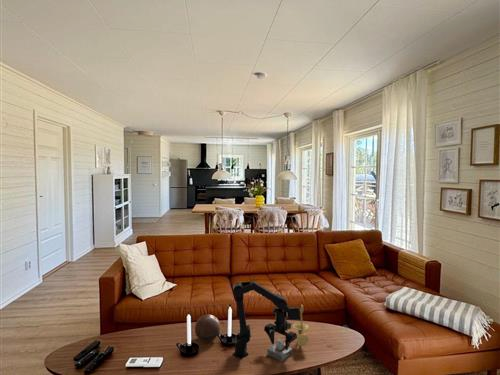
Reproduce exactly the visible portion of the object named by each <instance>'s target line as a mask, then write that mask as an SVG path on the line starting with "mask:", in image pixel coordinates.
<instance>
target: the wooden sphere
mask: <svg viewBox="0 0 500 375" xmlns="http://www.w3.org/2000/svg"><path fill="white" fill-rule="evenodd" d="M220 330H221V324H220V321H219V319H218V318H217V317H216V316H214V315H212V314H203V315H202V316H200V317H199V318H198V319H197V320H196V322H195V325H194V333H195V336H196V337H197V339H198V340H200V341H202V342H203V343H204V342H206V343H208V342H212V341H215V339H216V338H217V337H218V336H219V334H220V332H221V331H220Z"/></svg>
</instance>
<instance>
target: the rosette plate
mask: <svg viewBox="0 0 500 375" xmlns="http://www.w3.org/2000/svg"><path fill="white" fill-rule="evenodd" d="M266 353H267V354H266V355H267V356H269V357H271V358H274V359H276V360H278V361H280V362H284V361H285V360H286V359H287V358H289V357H291V355H292V354H293V348H292V347H289V348H288V350H287V351H286V348H285V342H284V350H283V351H282V352H279V351H277V350H276V343H274V344H272V345H271V346H269V347H268V348H267V350H266Z"/></svg>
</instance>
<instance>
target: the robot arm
mask: <svg viewBox="0 0 500 375" xmlns="http://www.w3.org/2000/svg"><path fill="white" fill-rule="evenodd" d="M251 291H255V292H256V293H257V294H259V295H260V296H262V297H264V298H266V299H268V300H269V301H270V302H271V303H272V305H274V307H273V308H272V309H271V311H272V313H275V320H274V321H273V323H271V322H270V323H268V324H265V325H264V327H263V331H264V332H265V334H267V336H268V337H269V338H268V339H269V340H270V343H271V345H274V344H275V334H276V333H277V334H279V335H282V336H284V337H285V338H284V343H285V348H286V351H287V350H288V348H290V344H291V343H292V342H294V341H295V340H297V337H298V333H296V332H294V331H289V330H291V327H292V325H293V324H292V323H291V322H289V321H299V320H301V314H300V307H299V306H295V307H293V306H289V304H288V303H287V300H286V298H285V296H283V295H281V294H279V293H275V292H273V291H271V290H269V288H266V287H264V286H262V285H261V284H260V283H258V282H256V281H255V280H251V281H243V282H239V281H238V282H235V283H234V284H233V286H232V293H233V296H234V298H235V301H236V306H237V314H238V321H239V332H238V333H237V334H236V335H235V344H234V352H233V353H232V355H233V356H234V357H235V358H237V359H241V360H242V359H243V358H245V357H246V356H248V355H249V352H247V350H248V348H247V346H248V343H249V342H250V340H251V337H252V334H251V328H250V327H251V326H250V324H248V323H247V320H246V312H245V304H244V294H247V293H249V292H251ZM287 319H288V320H289V321H288V320H287ZM287 331H289V332H287Z"/></svg>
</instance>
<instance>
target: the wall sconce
mask: <svg viewBox="0 0 500 375" xmlns="http://www.w3.org/2000/svg"><path fill="white" fill-rule="evenodd" d="M303 313H304V305H303V304H300V307H299V315H300V322H294V323H293V324H292V327H293V328H294V329H295V330H298V333H297V339H296V342H297V344H298V345H299V347H304V346H306V345H308V343H309V336H307V334H305V333H304V331H307V330H308V329H309V325H308V324H307V323H304V322H303Z"/></svg>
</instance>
